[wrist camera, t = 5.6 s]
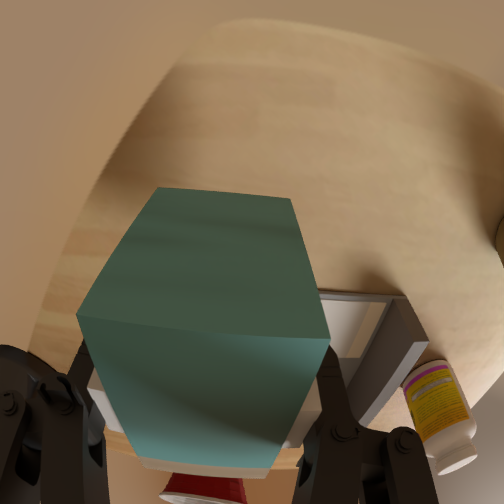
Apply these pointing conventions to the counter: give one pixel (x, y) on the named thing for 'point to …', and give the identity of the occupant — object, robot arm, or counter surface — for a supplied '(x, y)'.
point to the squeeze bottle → (500, 241)
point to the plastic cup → (203, 490)
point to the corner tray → (372, 346)
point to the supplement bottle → (441, 415)
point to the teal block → (207, 331)
